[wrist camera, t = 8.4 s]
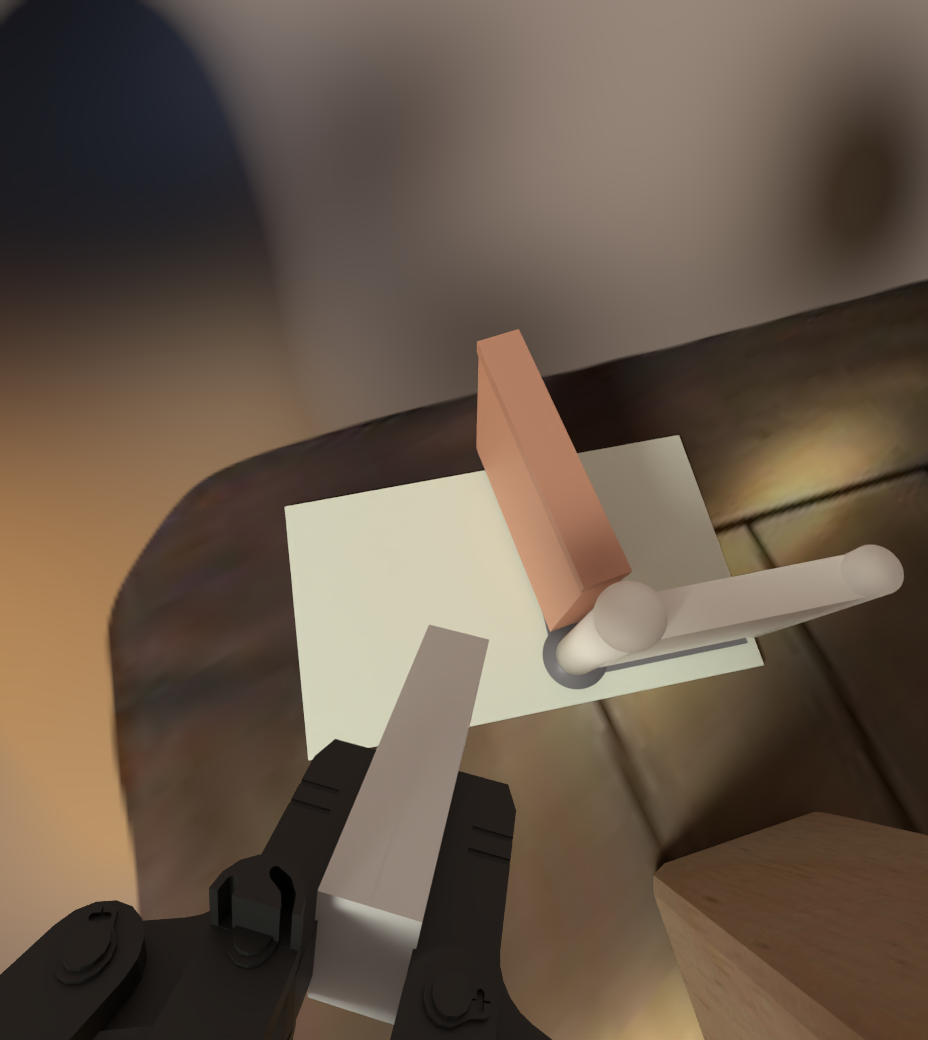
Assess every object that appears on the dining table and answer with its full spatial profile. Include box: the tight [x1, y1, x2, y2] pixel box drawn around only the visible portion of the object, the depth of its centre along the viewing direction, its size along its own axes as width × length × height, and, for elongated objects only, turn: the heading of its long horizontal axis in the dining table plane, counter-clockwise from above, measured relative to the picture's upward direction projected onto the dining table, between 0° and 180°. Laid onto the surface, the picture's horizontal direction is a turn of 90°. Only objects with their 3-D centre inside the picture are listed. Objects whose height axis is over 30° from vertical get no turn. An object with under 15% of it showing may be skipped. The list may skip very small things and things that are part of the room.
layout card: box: [285, 435, 764, 760], centre depth 33 cm, size 25×14×1 cm, turn 101°
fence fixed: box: [555, 545, 904, 676], centre depth 26 cm, size 12×3×13 cm, turn 101°
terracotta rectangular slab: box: [476, 330, 632, 632], centre depth 29 cm, size 12×2×10 cm, turn 19°
